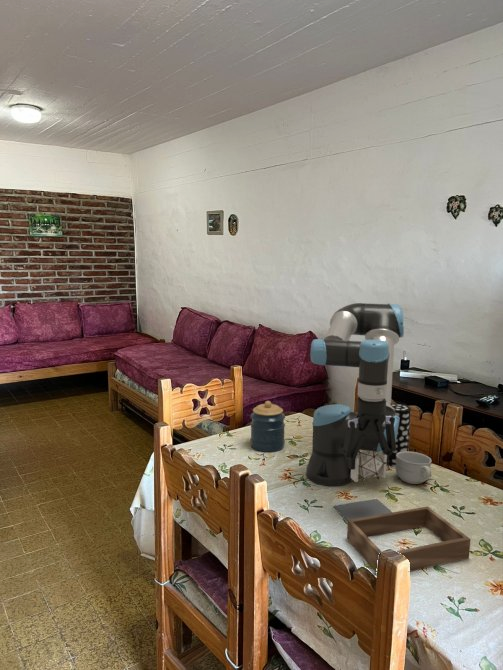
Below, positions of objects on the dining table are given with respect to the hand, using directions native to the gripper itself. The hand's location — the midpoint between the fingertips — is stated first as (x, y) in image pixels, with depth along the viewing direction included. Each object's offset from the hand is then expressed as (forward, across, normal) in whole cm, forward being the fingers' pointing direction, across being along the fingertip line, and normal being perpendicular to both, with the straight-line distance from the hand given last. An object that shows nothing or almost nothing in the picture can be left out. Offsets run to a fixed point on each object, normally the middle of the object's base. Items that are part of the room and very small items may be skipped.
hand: (368, 477), depth 135 cm
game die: (0, 0, 0) cm, 0 cm away
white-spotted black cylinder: (+11, +28, +28) cm, 41 cm away
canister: (+11, -10, +55) cm, 57 cm away
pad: (+11, 0, 0) cm, 11 cm away
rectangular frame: (+11, +1, -17) cm, 20 cm away
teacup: (+11, +25, +13) cm, 30 cm away
